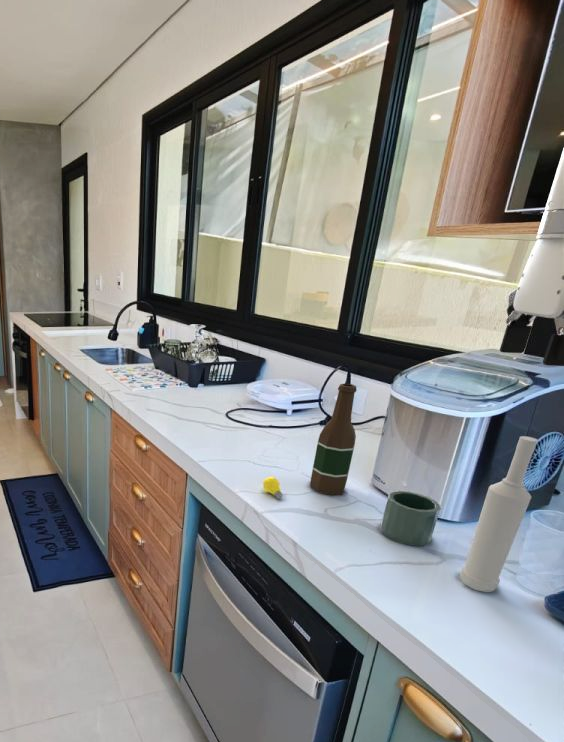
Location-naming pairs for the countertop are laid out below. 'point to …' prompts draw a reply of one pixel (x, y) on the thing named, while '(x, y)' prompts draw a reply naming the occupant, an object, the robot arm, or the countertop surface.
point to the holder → (410, 518)
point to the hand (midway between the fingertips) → (532, 358)
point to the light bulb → (272, 486)
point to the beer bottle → (335, 446)
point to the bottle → (499, 523)
